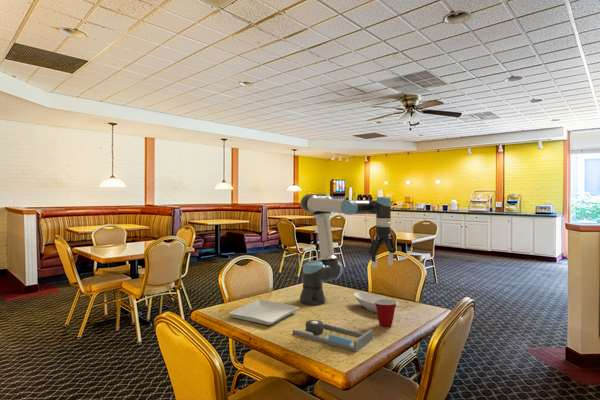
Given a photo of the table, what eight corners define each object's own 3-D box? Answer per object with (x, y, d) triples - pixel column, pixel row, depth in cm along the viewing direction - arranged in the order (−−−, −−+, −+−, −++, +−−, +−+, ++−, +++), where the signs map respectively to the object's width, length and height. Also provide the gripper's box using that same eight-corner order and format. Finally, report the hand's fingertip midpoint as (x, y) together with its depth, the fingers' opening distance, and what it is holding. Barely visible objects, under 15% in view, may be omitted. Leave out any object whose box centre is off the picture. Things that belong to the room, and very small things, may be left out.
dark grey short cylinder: (302, 332, 160) (302, 322, 160) (312, 327, 166) (312, 317, 166) (317, 336, 155) (317, 326, 155) (326, 331, 162) (326, 321, 162)
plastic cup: (388, 320, 176) (388, 296, 176) (401, 328, 166) (401, 302, 166) (369, 323, 172) (369, 298, 172) (382, 330, 162) (382, 305, 162)
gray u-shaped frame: (292, 333, 158) (292, 324, 158) (312, 323, 171) (312, 315, 171) (355, 352, 139) (355, 342, 139) (372, 339, 152) (373, 329, 152)
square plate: (258, 305, 201) (258, 298, 201) (300, 313, 187) (300, 306, 187) (226, 319, 177) (226, 311, 177) (271, 329, 164) (271, 321, 164)
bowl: (405, 315, 185) (405, 303, 185) (385, 320, 177) (385, 308, 177) (365, 301, 210) (365, 290, 210) (346, 305, 202) (346, 294, 202)
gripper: (373, 227, 174) (373, 270, 175) (403, 225, 190) (402, 264, 190) (362, 226, 180) (361, 267, 180) (391, 224, 196) (390, 262, 196)
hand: (382, 266), depth 185 cm, fingers open, 13 cm apart
